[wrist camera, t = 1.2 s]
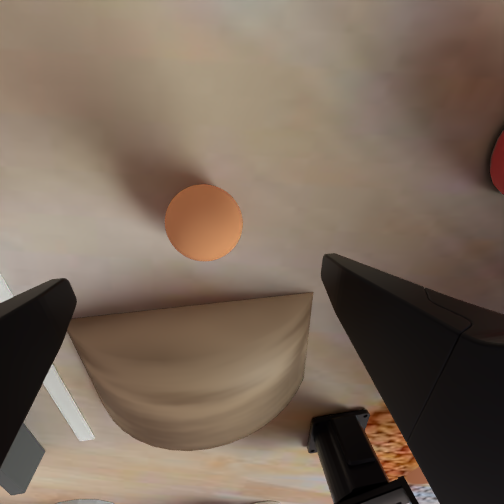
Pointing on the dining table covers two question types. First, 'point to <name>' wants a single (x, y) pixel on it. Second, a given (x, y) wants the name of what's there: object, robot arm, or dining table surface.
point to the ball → (203, 222)
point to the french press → (85, 502)
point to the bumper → (21, 462)
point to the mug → (268, 502)
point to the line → (58, 389)
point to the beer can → (498, 164)
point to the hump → (197, 367)
